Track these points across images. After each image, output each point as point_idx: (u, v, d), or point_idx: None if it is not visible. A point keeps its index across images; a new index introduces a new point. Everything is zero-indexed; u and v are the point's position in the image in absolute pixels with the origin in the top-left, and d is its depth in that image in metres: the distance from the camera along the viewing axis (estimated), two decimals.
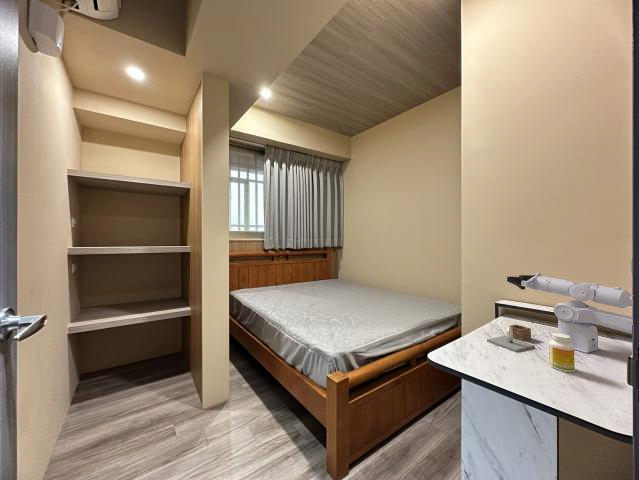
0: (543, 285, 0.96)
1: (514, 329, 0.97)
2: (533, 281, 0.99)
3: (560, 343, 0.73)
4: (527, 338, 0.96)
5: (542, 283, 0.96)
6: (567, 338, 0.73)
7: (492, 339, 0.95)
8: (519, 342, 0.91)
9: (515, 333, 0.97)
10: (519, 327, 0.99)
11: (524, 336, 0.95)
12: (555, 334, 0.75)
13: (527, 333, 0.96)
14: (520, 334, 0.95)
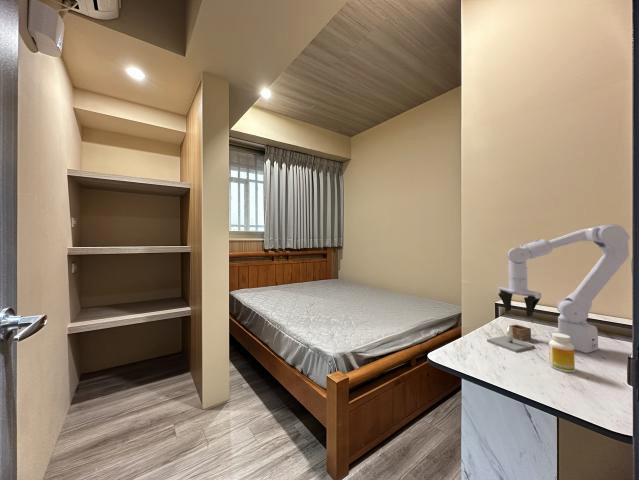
0: (526, 282, 0.96)
1: (514, 329, 0.97)
2: (525, 291, 0.95)
3: (560, 343, 0.73)
4: (527, 338, 0.96)
5: (524, 283, 0.95)
6: (567, 338, 0.73)
7: (492, 339, 0.95)
8: (519, 342, 0.91)
9: (515, 333, 0.97)
10: (519, 327, 0.99)
11: (524, 336, 0.95)
12: (555, 334, 0.75)
13: (527, 333, 0.96)
14: (520, 334, 0.95)
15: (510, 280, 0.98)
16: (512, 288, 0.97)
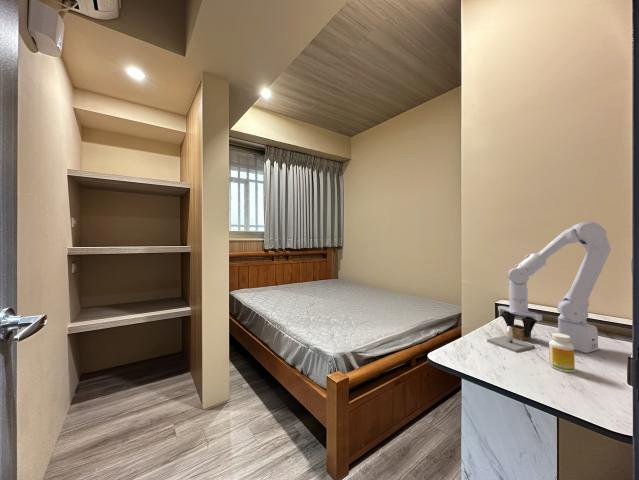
0: (526, 304, 0.96)
1: (514, 329, 0.97)
2: (525, 312, 0.95)
3: (560, 343, 0.73)
4: (527, 338, 0.96)
5: (525, 304, 0.95)
6: (567, 338, 0.73)
7: (492, 339, 0.95)
8: (519, 342, 0.91)
9: (515, 333, 0.97)
10: (519, 327, 0.99)
11: (524, 336, 0.95)
12: (555, 334, 0.75)
13: None
14: (520, 334, 0.95)
15: (510, 301, 0.98)
16: (513, 309, 0.97)
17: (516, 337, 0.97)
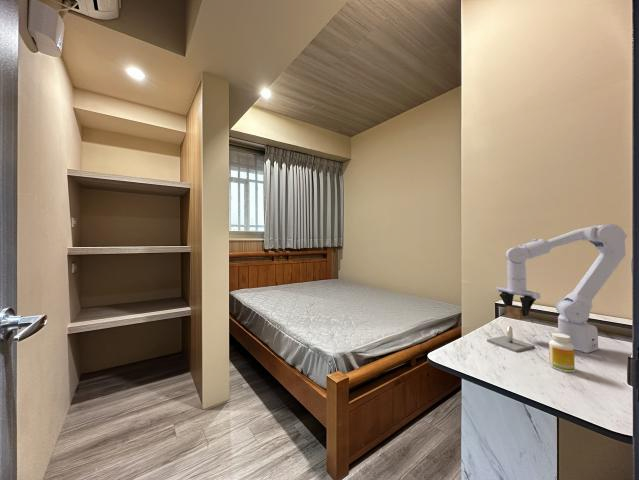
0: (525, 283, 0.95)
1: (512, 309, 0.96)
2: (523, 291, 0.94)
3: (560, 343, 0.73)
4: (525, 317, 0.95)
5: (523, 283, 0.95)
6: (567, 338, 0.73)
7: (492, 339, 0.95)
8: (519, 342, 0.91)
9: (513, 313, 0.96)
10: (517, 307, 0.99)
11: (522, 316, 0.94)
12: (555, 334, 0.75)
13: None
14: (518, 313, 0.95)
15: (509, 280, 0.98)
16: (511, 288, 0.97)
17: (514, 316, 0.96)
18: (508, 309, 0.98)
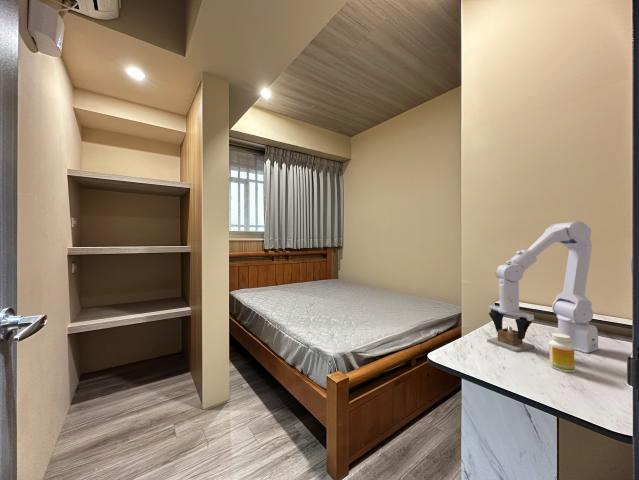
0: (517, 303, 0.89)
1: (504, 333, 0.91)
2: (516, 312, 0.89)
3: (560, 343, 0.73)
4: (518, 343, 0.90)
5: (516, 303, 0.89)
6: (567, 338, 0.73)
7: (492, 339, 0.95)
8: None
9: (505, 337, 0.91)
10: None
11: (515, 341, 0.89)
12: (555, 334, 0.75)
13: None
14: (511, 339, 0.89)
15: (501, 299, 0.92)
16: (503, 308, 0.91)
17: (506, 342, 0.90)
18: (500, 333, 0.92)
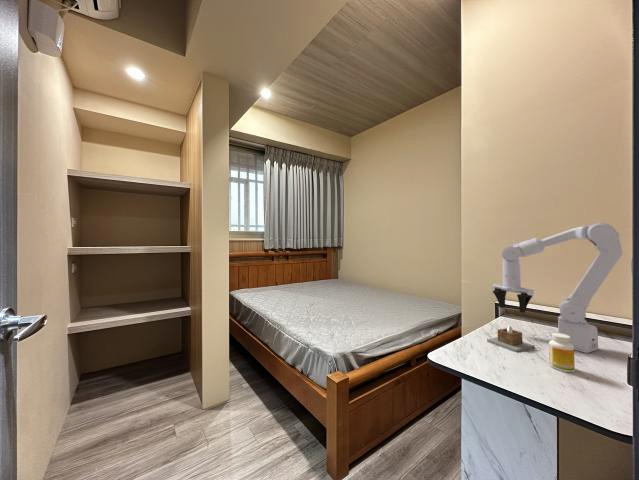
0: (519, 280, 0.99)
1: (504, 333, 0.91)
2: (518, 288, 0.98)
3: (560, 343, 0.73)
4: (518, 343, 0.90)
5: (517, 280, 0.99)
6: (567, 338, 0.73)
7: (492, 339, 0.95)
8: None
9: (505, 337, 0.91)
10: None
11: (515, 341, 0.89)
12: (555, 334, 0.75)
13: (518, 337, 0.90)
14: (511, 339, 0.89)
15: (504, 278, 1.01)
16: (506, 285, 1.01)
17: (506, 342, 0.90)
18: (500, 333, 0.92)
